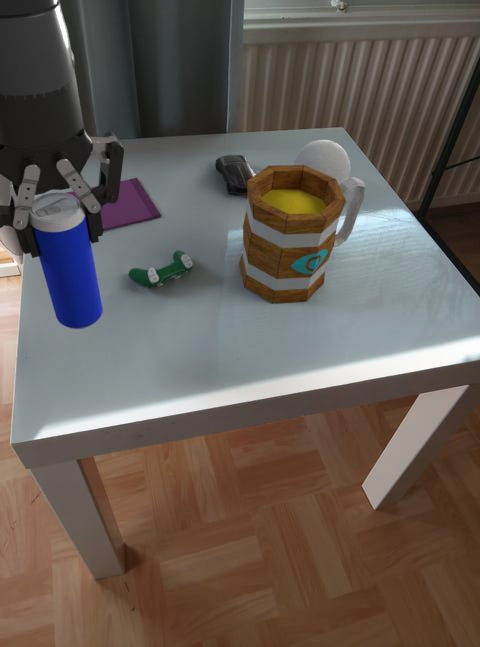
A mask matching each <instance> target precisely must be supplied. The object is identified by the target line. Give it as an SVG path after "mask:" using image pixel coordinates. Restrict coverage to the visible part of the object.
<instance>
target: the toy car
mask: <svg viewBox="0 0 480 647" xmlns="http://www.w3.org/2000/svg"><path fill="white" fill-rule="evenodd" d="M214 166H215V171H216V172H219V173H220V175H221V176H222V178H223V180H224V182H225V184H226V191H227V192H228V193H229V194H230V193H232V194H236V195H248V193H247V181H248V180H249V179H250V178H252V177H253V176H255V175H256V174H257V173H255V172H254V170H253V169H252V167H251V166H250V164H249V162H248V160H247V157H246V156H245V155H242V154H228V155H227V154H226V155H222V156H220V157H219V156H218V158H217V159H216V160H215V165H214Z"/></svg>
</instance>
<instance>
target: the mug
mask: <svg viewBox="0 0 480 647" xmlns="http://www.w3.org/2000/svg"><path fill="white" fill-rule="evenodd" d="M255 174H256V175H255V176H253V177H252V178H250V179H249V180H248V181H247V186H246V187H247V193H248V194H247V199H246V211H245V215H244V221H243V225H242V249H241V255H240V259H239V263H238V266H239V270H240V275H241V280H242V284H243V288H244V289H245V290H248V291H250V292H251V293H253V294H255V295H256V296H258V297H260V298H262V299H263V300H265V301H267V302H269V303H270V304H287V303H304V302H305V303H306V302H308V301H309V299H311V297H312V296H313V295H315V293H316V292H317V291H318V290H319V289H320V288H321V287H322V286H323V285H325V284H324V283H325V277H326V269H327V267H328V266H327V265H328V261H329V259H330V256H331V254H332V251H333V249H334V248H338V247H339V246H341V245H343V244H344V243H345V242H347V241H348V238H349V237H350V235H351V234H352V232H353V229H354V227H355V224H356V221H357V218H358V215H359V211H360V209H361V206H362V205H363V201H364V199H365V196H366V183H365V182H364V181H363V180H362V179H360V178H356V177H352V176H349V178H348V179H346V180H345V181H343V182H342V183H340V184H339V185H338V182H337V180H336V179H335V178H332V177H330V176H328V175H326V174H323V173H321V172H319V171H317V170H314V169H312V168H310V167H308V166H305V165H294V164H287V165H282V164H281V165H280V164H279V165H267V166H266V167H264V168H263V169H262V170H260V171H259V172H257V173H255ZM352 191H353V194H352V197H351V199H350V202H349V204H348V207H347V210H346V213H345V217H344V220H343V223H342V226H341V227H340V228H339V231H337V229H338V225H339V221H340V217H341V215H342V213H343V210H344V208H345V205H346V203H347V200H346V198H345V197H346V196H347V195H348V194H349V193H350V192H352Z"/></svg>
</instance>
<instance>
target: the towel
mask: <svg viewBox="0 0 480 647" xmlns="http://www.w3.org/2000/svg"><path fill="white" fill-rule="evenodd" d="M95 187H96V186H90V188H91V189H93V188H95ZM65 193H67V194H70V195H73V196H74V197H76V198H77V199H78V200H79V201H80V203H81V202H82V201H81V199H79V198H78V196H77V195H76V193H75V192H74V191H73V190H72V191H66V192H65ZM161 217H162V214H161V213H160V211H159V210H158V208H157V207H156V205H155V203H154V202H153V200H152V199H151V197H150V196H149V193H147V191H146V189H145V188H144V186H143V185H142V183H141V182H140V180H139V178H138V177H134V178H133V177H132V178H130V179H124V180H121V181H120V189H119V198H118V200H117V202H115V203H113V204H110V203H107V204H105V205H104V206H102V208H101V218H102V224H103V231H104V232H106V231H108V230H113V229H117V228H121V227H126V226H130V225H133V224H138V223H142V222H146V221H150V220H154V219H158V218H161Z"/></svg>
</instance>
